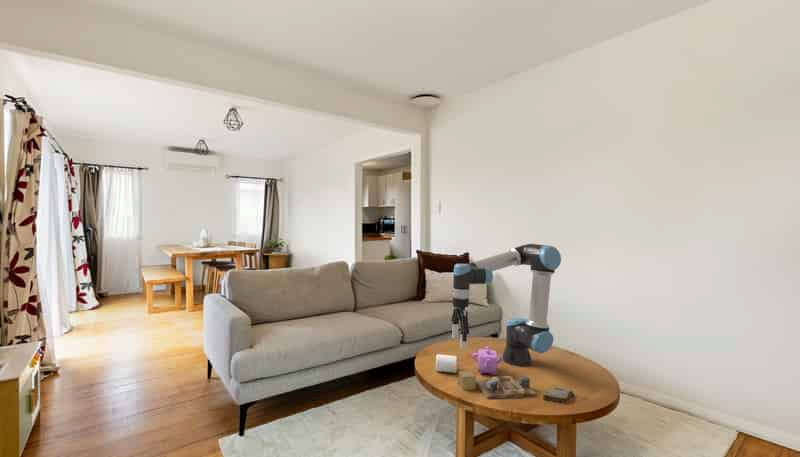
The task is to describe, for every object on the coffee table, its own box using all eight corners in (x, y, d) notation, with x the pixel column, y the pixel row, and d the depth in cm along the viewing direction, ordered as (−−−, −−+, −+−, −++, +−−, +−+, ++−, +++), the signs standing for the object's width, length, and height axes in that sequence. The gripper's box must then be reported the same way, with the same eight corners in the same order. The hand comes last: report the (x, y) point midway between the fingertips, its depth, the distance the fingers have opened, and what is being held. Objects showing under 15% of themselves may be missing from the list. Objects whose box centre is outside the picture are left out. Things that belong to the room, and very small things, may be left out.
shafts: (526, 383, 169) (526, 375, 169) (533, 390, 163) (533, 381, 163) (481, 385, 165) (482, 377, 165) (487, 392, 159) (487, 383, 159)
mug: (455, 375, 178) (456, 359, 178) (435, 373, 180) (435, 357, 180) (456, 366, 190) (457, 351, 190) (437, 364, 192) (438, 349, 192)
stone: (556, 390, 167) (557, 383, 167) (575, 396, 161) (575, 390, 161) (541, 400, 157) (541, 393, 157) (561, 408, 151) (561, 400, 151)
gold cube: (470, 383, 171) (471, 370, 170) (475, 389, 165) (475, 376, 165) (458, 384, 170) (458, 371, 170) (462, 390, 164) (462, 376, 164)
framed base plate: (520, 380, 175) (520, 375, 174) (537, 396, 160) (537, 390, 160) (474, 383, 171) (474, 377, 171) (487, 398, 156) (487, 392, 156)
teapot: (466, 368, 188) (467, 347, 187) (486, 363, 194) (487, 343, 194) (487, 380, 175) (488, 357, 174) (507, 374, 181) (508, 353, 181)
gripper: (446, 291, 181) (444, 334, 182) (460, 303, 156) (458, 352, 157) (460, 292, 182) (459, 334, 182) (477, 303, 157) (475, 352, 158)
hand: (459, 342), depth 170 cm, fingers open, 13 cm apart
